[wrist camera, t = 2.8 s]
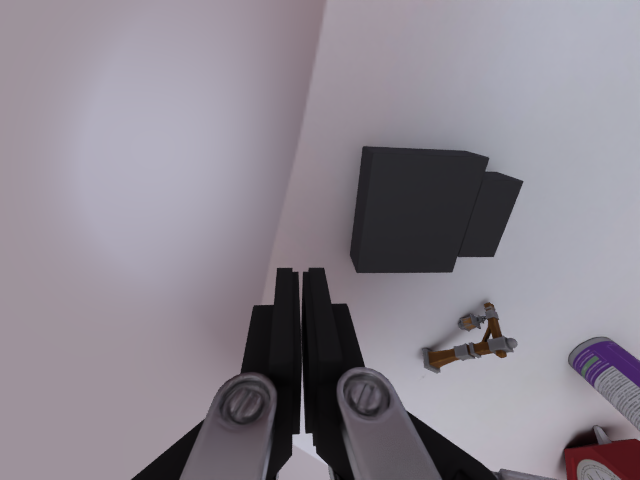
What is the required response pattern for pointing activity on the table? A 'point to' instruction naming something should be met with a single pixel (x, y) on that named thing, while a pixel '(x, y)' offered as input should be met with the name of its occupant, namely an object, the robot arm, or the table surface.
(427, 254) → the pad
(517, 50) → the table surface
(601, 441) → the alarm clock
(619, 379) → the container
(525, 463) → the table surface
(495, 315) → the brown jointed two-tone fixture
